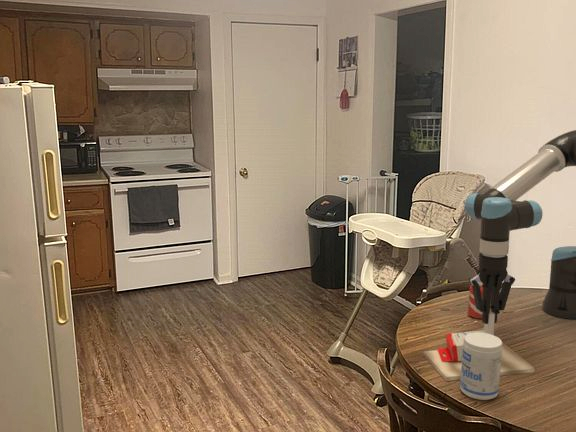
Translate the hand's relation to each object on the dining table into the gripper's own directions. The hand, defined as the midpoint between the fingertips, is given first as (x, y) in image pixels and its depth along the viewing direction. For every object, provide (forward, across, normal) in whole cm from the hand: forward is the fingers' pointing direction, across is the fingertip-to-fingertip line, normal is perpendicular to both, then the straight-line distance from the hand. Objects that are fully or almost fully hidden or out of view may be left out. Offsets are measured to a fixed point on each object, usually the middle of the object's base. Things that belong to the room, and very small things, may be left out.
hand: (488, 333), depth 165 cm
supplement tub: (+9, +10, +15) cm, 20 cm away
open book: (+9, +3, 0) cm, 9 cm away
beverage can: (+9, -14, -33) cm, 37 cm away
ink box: (+3, -1, -1) cm, 4 cm away
